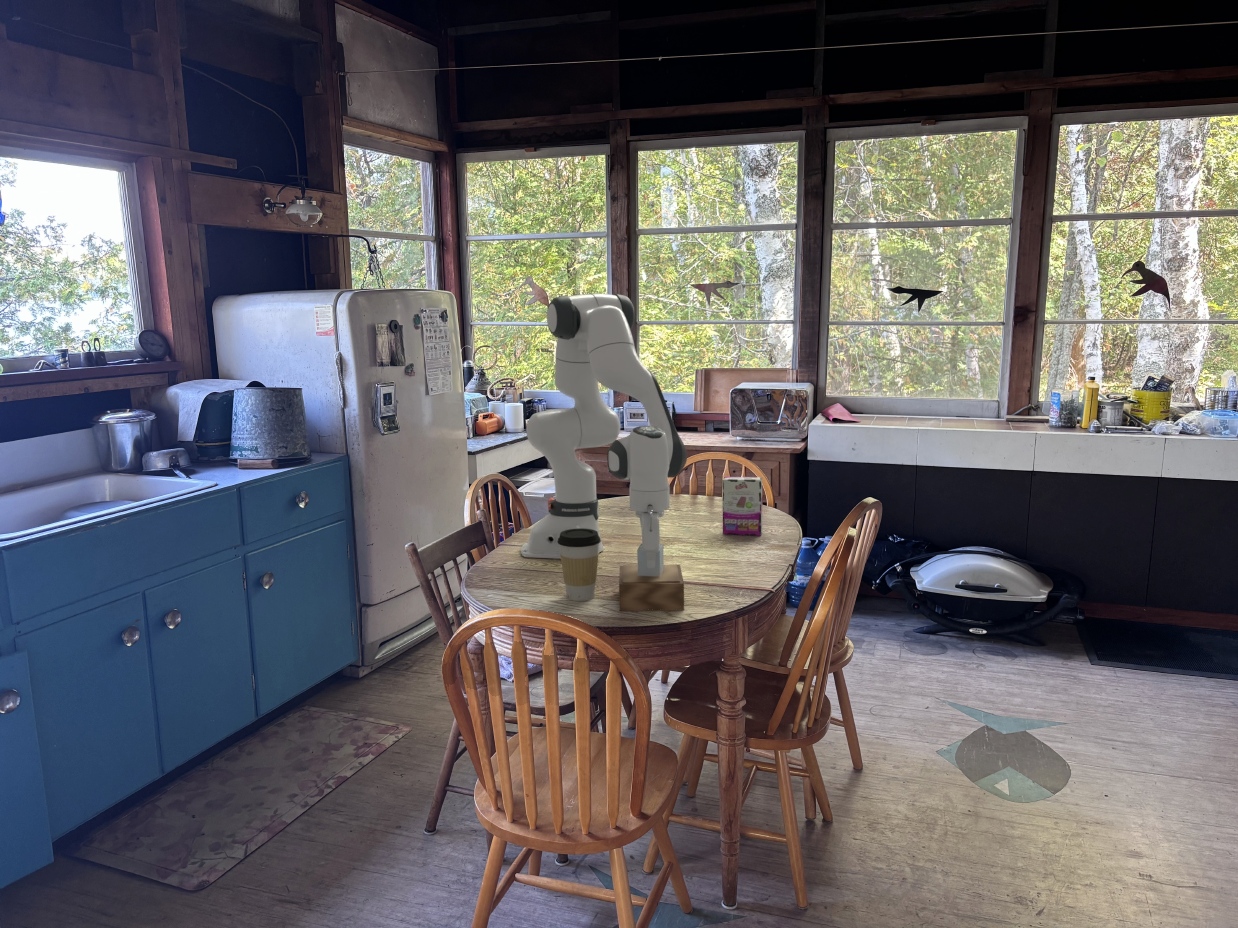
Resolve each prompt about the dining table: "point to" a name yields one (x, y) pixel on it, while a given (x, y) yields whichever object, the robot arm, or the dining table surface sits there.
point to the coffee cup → (579, 562)
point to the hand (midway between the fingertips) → (650, 560)
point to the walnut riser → (651, 589)
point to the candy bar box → (742, 506)
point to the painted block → (642, 563)
